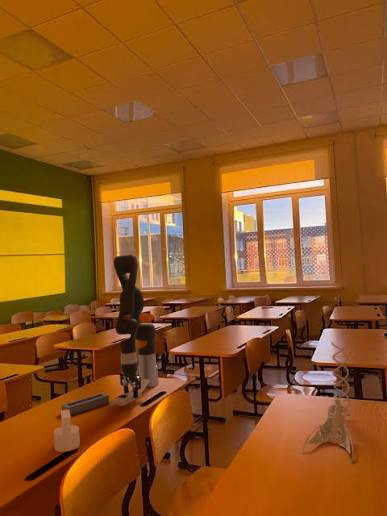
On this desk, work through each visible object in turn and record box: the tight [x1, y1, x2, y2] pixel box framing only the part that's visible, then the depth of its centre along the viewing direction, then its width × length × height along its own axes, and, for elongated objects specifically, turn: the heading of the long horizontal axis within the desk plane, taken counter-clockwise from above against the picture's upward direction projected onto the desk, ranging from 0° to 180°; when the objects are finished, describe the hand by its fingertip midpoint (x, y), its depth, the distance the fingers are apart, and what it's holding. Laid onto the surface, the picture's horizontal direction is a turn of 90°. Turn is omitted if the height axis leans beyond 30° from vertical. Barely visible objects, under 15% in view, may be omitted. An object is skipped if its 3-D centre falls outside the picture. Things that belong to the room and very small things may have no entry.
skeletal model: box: [301, 398, 355, 464], centre depth 144 cm, size 16×9×25 cm
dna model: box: [331, 341, 351, 414], centre depth 168 cm, size 7×6×30 cm
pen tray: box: [61, 392, 110, 417], centre depth 192 cm, size 21×6×4 cm, turn 134°
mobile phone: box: [109, 379, 150, 408], centre depth 194 cm, size 6×6×25 cm
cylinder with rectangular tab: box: [53, 409, 81, 453], centre depth 153 cm, size 9×9×12 cm
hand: (131, 396), depth 194 cm, fingers closed on mobile phone, 6 cm apart
